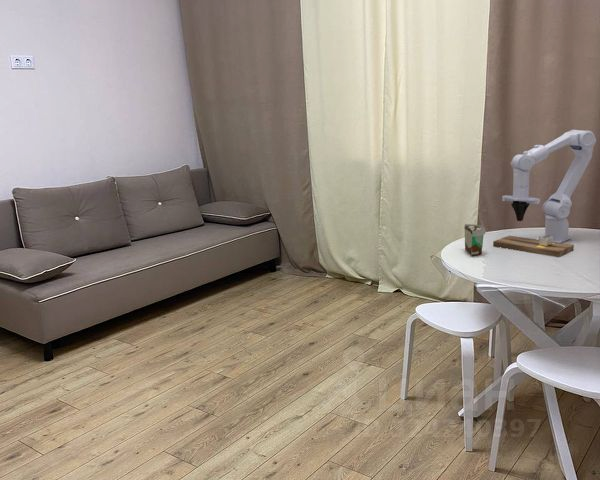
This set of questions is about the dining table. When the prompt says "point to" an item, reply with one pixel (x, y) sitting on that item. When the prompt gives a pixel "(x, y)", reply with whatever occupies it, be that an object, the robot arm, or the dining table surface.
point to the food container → (474, 239)
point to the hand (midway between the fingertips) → (519, 220)
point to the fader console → (533, 246)
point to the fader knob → (546, 240)
